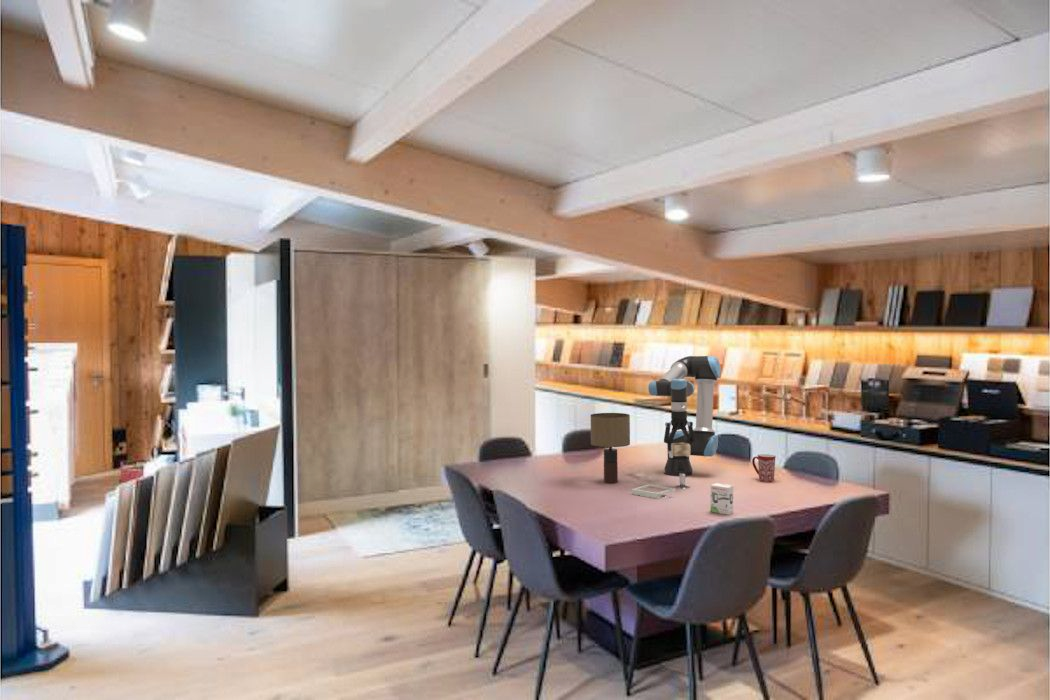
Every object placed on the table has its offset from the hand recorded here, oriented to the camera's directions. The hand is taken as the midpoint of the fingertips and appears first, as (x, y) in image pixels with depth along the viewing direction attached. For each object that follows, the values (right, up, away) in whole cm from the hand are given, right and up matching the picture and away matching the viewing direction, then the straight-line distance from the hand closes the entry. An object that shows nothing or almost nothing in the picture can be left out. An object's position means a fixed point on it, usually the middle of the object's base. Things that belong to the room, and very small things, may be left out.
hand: (679, 456), depth 349 cm
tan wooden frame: (0, +1, 0) cm, 1 cm away
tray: (-14, -17, -6) cm, 22 cm away
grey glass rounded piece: (+2, -16, +1) cm, 17 cm away
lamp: (-31, -17, +22) cm, 41 cm away
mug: (+48, -16, +21) cm, 55 cm away
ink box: (+9, -18, -42) cm, 47 cm away
